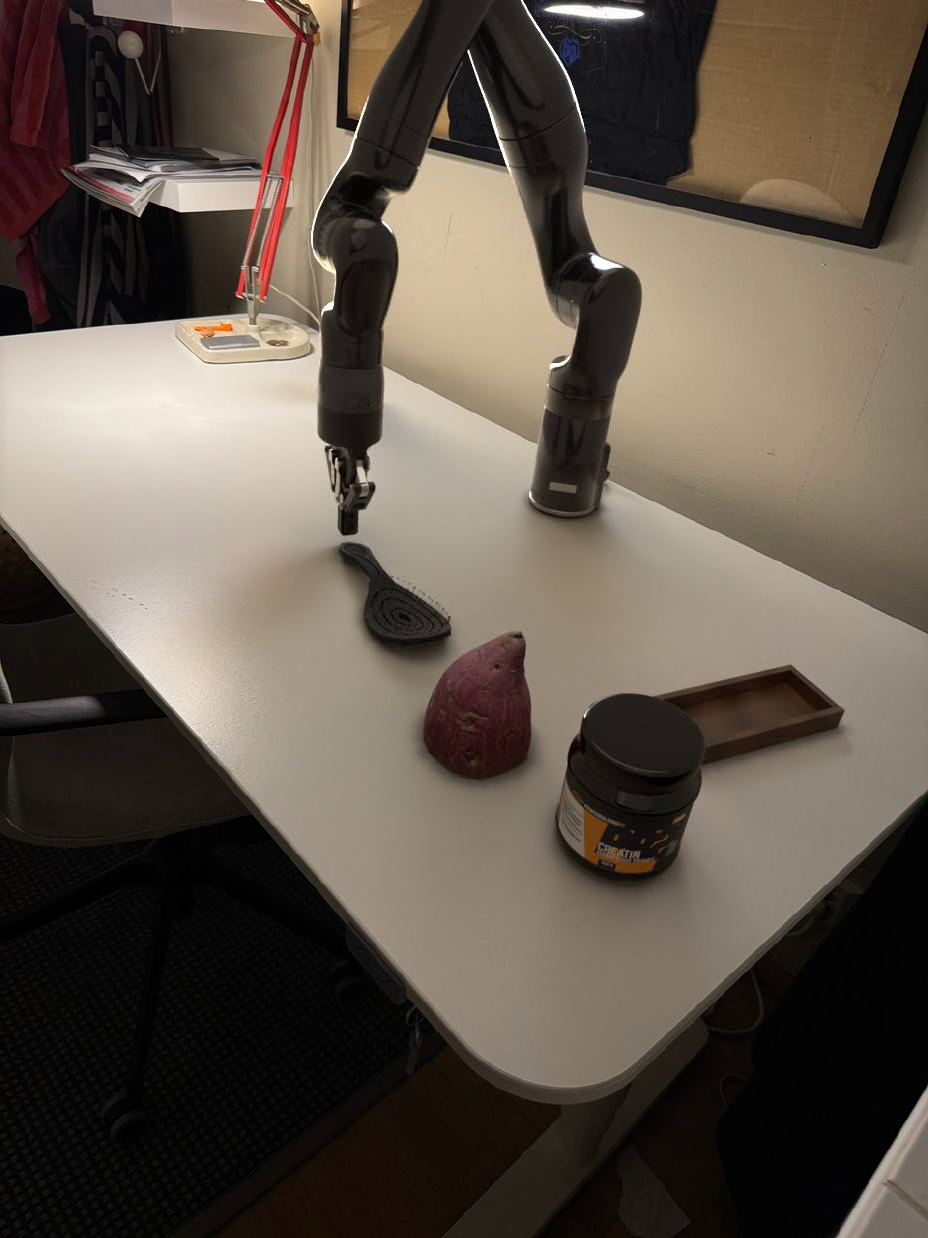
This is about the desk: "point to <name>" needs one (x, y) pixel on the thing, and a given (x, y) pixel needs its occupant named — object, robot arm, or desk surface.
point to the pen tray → (756, 711)
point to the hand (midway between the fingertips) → (347, 532)
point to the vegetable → (482, 710)
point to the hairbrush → (395, 605)
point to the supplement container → (629, 787)
